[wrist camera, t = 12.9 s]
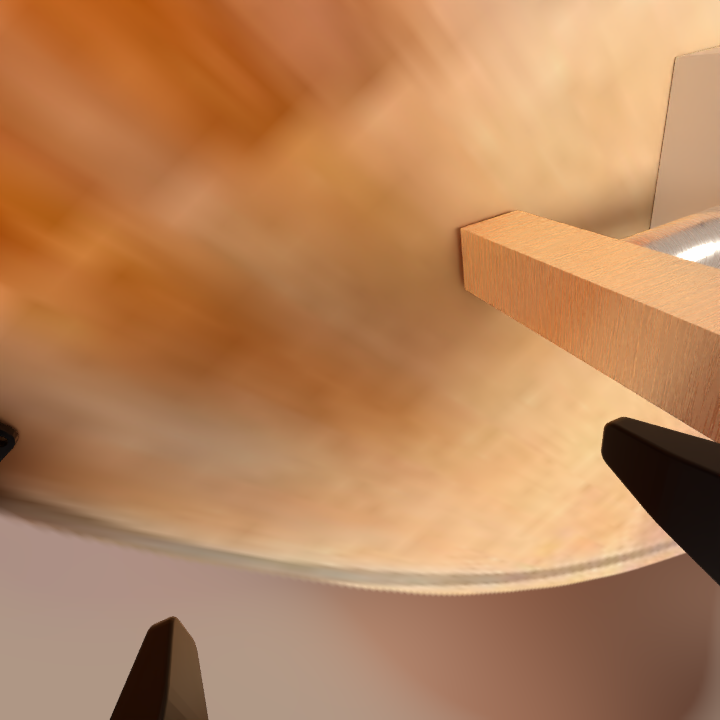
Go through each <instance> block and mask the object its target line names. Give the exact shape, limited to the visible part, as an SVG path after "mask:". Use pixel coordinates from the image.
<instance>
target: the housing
mask: <svg viewBox="0 0 720 720" xmlns="http://www.w3.org/2000/svg"><path fill="white" fill-rule="evenodd" d="M717 205H720V46H717V47H713V48H709V49H705V50H702V51H698V52H694V53H690V54H686V55H682V56H679V57H676V59H675V65H674V72H673V79H672V85H671V92H670V99H669V106H668V112H667V119H666V126H665V132H664V139H663V146H662V152H661V159H660V166H659V172H658V179H657V186H656V192H655V199H654V206H653V213H652V219H651V226H650V229H652V228H655V227H658V226H660V225H663V224H666V223H669V222H672V221H675V220H678V219H680V218H683V217H686V216H689V215H692V214H695V213H697V212H700V211H703V210H706V209H709V208H712V207H715V206H717Z"/></svg>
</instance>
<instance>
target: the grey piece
mask: <svg viewBox="0 0 720 720" xmlns="http://www.w3.org/2000/svg"><path fill="white" fill-rule="evenodd" d="M460 230H461V244H462V258H463V271H464V285H465V290H467V291H469V292H470V293H472V294H474V295H475V296H477V297H479V298H480V299H482V300H483V301H485V302H487V303H488V304H490V305H492V306H493V307H495V308H497V309H498V310H500V311H502V312H503V313H505V314H506V315H508V316H510V317H511V318H513V319H515V320H516V321H518V322H520V323H521V324H523V325H524V326H526V327H528V328H529V329H531V330H533V331H534V332H536V333H538V334H539V335H541V336H543V337H544V338H546V339H547V340H549V341H551V342H552V343H554V344H556V345H557V346H559V347H561V348H562V349H564V350H565V351H567V352H569V353H570V354H572V355H574V356H575V357H577V358H579V359H580V360H582V361H584V362H585V363H587V364H588V365H590V366H592V367H593V368H595V369H597V370H598V371H600V372H602V373H603V374H605V375H606V376H608V377H610V378H611V379H613V380H615V381H616V382H618V383H620V384H621V385H623V386H625V387H626V388H628V389H629V390H631V391H633V392H634V393H636V394H638V395H639V396H641V397H643V398H644V399H646V400H648V401H649V402H651V403H652V404H654V405H656V406H657V407H659V408H661V409H662V410H664V411H666V412H667V413H669V414H670V415H672V416H674V417H675V418H677V419H679V420H680V421H682V422H684V423H685V424H687V425H689V426H690V427H692V428H693V429H695V430H697V431H698V432H700V433H702V434H703V435H705V436H707V437H708V438H710V439H711V440H713V441H715V442H717V443H720V205H717V206H715V207H712V208H709V209H706V210H703V211H700V212H697V213H695V214H692V215H689V216H686V217H683V218H680V219H678V220H675V221H672V222H669V223H666V224H663V225H660V226H658V227H655V228H652V229H649V230H646V231H643V232H641V233H638V234H635V235H632V236H629V237H626V238H623V239H621V240H618V239H615V238H611V237H608V236H604V235H601V234H598V233H594V232H591V231H587V230H584V229H580V228H577V227H574V226H570V225H567V224H563V223H560V222H557V221H553V220H550V219H546V218H543V217H539V216H536V215H533V214H529V213H526V212H522V211H519V210H516V211H513V212H510V213H507V214H503V215H500V216H497V217H494V218H491V219H488V220H485V221H481V222H478V223H475V224H472V225H469V226H466V227H463V228H460Z"/></svg>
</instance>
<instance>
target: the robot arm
mask: <svg viewBox="0 0 720 720" xmlns="http://www.w3.org/2000/svg"><path fill="white" fill-rule="evenodd" d="M0 436H1V437H4V438H6V439H7V441H0V461H1V460H2V459H3V458H4V457H5V456H6V455H7V454H8V453H9V452H10V451H11V450H12V449H13V447H14V446H15V444H16V441H17V439H18V433H17V432H16V430H15V429H13V428H12V427H10V426H8V425H6V424H3V423H1V422H0ZM601 453H602V457H603V459H604V461H605V462H606V464H607V465H608V466H609V467H610V468H611V470H612V471H613V472H614V473H615V474H616V476H617V477H618V478H619V479H620V480H621V482H622V483H623V484H624V485H625V486H626V488H627V489H628V490H629V491H630V492H631V494H632V495H633V496H634V497H635V498H636V499H637V501H638V502H639V503H640V504H641V505H642V507H643V508H644V509H645V510H646V511H647V513H648V514H649V515H650V516H651V517H652V518H653V519H654V520H655V522H656V523H657V524H658V525H659V526H660V527H661V528H662V529H663V530H664V531H665V532H666V533H667V534H668V535H669V536H670V537H671V538H672V539H673V540H674V541H675V542H676V543H677V544H678V545H679V546H680V547H681V548H682V549H683V550H684V551H685V552H686V553H687V554H688V555H689V556H690V557H691V558H692V559H693V560H694V561H695V562H696V563H697V564H698V565H699V566H700V567H702V569H703V570H704V571H705V572H706V573H707V574H708V575H709V576H710V577H711V578H712V579H713V580H714V581H715V582H717V584H718V585H719V586H720V443H717V442H713V441H710V440H706V439H703V438H699V437H695V436H692V435H688V434H685V433H681V432H678V431H674V430H671V429H667V428H664V427H660V426H656V425H653V424H649V423H646V422H642V421H639V420H635V419H632V418H628V417H620V418H618V419H615V420H613V421H611V422H609V423H607V424H606V425H605V427H604V431H603V439H602V447H601ZM110 720H208V714H207V708H206V702H205V697H204V689H203V683H202V678H201V671H200V665H199V658H198V653H197V648H196V645H195V642H194V640H193V638H192V637H191V636H190V634H189V633H188V632H187V630H186V629H185V627H184V626H183V625H182V623H181V622H180V621H179V620H178V618H176V617H174V616H172V617H169V618H167V619H165V620H163V621H160V622H158V623H156V624H154V625H152V626H151V627H150V629H149V630H148V632H147V634H146V636H145V639H144V641H143V643H142V646H141V648H140V650H139V653H138V655H137V657H136V660H135V662H134V664H133V667H132V669H131V671H130V674H129V676H128V678H127V681H126V683H125V685H124V688H123V690H122V692H121V695H120V697H119V699H118V702H117V704H116V706H115V709H114V711H113V713H112V716H111V718H110Z"/></svg>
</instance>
